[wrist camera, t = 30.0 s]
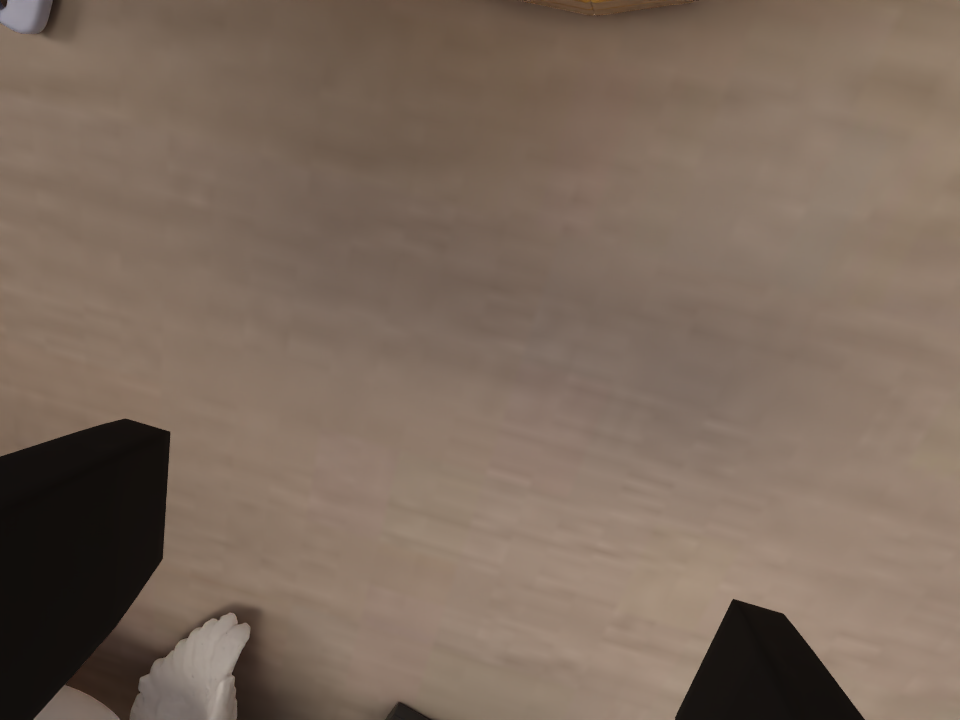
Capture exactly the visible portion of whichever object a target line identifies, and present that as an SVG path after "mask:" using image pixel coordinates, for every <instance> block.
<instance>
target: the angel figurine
mask: <svg viewBox="0 0 960 720" xmlns="http://www.w3.org/2000/svg"><path fill="white" fill-rule="evenodd" d="M237 623H238V621H237V617H236V615H235V614H234V613H230V612H229V613H228V614H227V615H223V616H222V617H220V620H218V621H217V619H213V618H212V619H210V620H209V621H207V622H206V623H204V625H203V627H202V628H201V627H198V628H195V629H194V630H193V631H192V632H191V633H190V635H189V637H188V638H185V639H182V640H180V641H179V642H178V643H177V645H176V647H175V649H174V651H173V650H172V651H171V652H170V653H169V654H168V655H167V656H166V657H165V658H159V659H157V660H156V661H154V663H153V665H152V667H151V670H150V673H149V674H147V675H145V676H142V677H141V678H140V682H139V685H138V689H139V691H140V692H141V693H139V694H138V695H137V696H136V699H135V701H134V703H133V706H132V708H131V712H130V717H129V718H130V720H237V700H236V699H235V696H236V688H235V687H234V683H235V676H233V675H232V672H233V670H234V667H235V664H236V663H237V660H238V657H239V655H240V653H241V651H242V649H243V648H244V647H245V644H246V642H247V641H248V640H249V637H250V636H249V635H250V630H251V627H250V626H249V625H248V624H247V623H243V624H239V625H237ZM33 720H120V719H119V717H118V716H117V715H116V714H115V713H114V712H113V711H112V710H110V709H109V708H108V707H107V706H105V705H104V704H103V703H101V702H100V701H98V700H96V699H95V698H93V697H92V696H90V695H87V694H86V693H84V692H81V691H79V690H77V689H75V688H72V687H69V686H67V685H64V686H63V687H62V688H61V689H60V690H59V692H58V693H57V694H56V695H55V696H54V697H53V698H52V699H51V700H50V702H49V703H48V704H47V705H46V706H45V707H44V708H43V709H42V710H41V712H40V713H39V714H38V715H37V716H36V717H35V718H34V719H33Z"/></svg>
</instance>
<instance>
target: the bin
mask: <svg viewBox="0 0 960 720" xmlns="http://www.w3.org/2000/svg"><path fill="white" fill-rule="evenodd" d="M386 720H429V719H427V718H425V717H424V716H422V715H420V714H418V713H416V712H415V711H413V710H411V709H409V708H407V707H406V706H404V705H402V704H400V703H398V704H397V705H396V706H395V707H394V709H393V710H392V711H391V713H390V714H389V715H388V717H387V718H386Z"/></svg>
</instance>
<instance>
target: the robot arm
mask: <svg viewBox="0 0 960 720" xmlns="http://www.w3.org/2000/svg"><path fill="white" fill-rule="evenodd" d="M52 2H53V0H7V5H6V7H4V6H3V5H2V3H1V1H0V23H1V24H3V25H5V26H6V27H8V28H10V29H11V30H13V31H16V32H18V33H21V34H37V33H39V32H41V31H42V30H44V28H45V26H46V24H47V22H48V18H49V14H50V10H51V6H52ZM169 447H170V432H169V431H166V430H162V429H159V428H156V427H152V426H149V425H146V424H142V423H139V422H136V421H132V420H129V419H122V420H118V421H114V422H110V423H106V424H102V425H99V426H95V427H92V428H89V429H85V430H82V431H79V432H76V433H72V434H69V435H66V436H63V437H60V438H57V439H54V440H51V441H47V442H44V443H41V444H38V445H35V446H32V447H29V448H26V449H23V450H20V451H17V452H14V453H10V454H7V455H4V456H1V457H0V720H33V719H34V718H35V717H36V716H37V715H38V714H39V713H40V712H41V710H42V709H43V708H44V707H45V706H46V705H47V704H48V703H49V702H50V700H51V699H52V698H53V697H54V696H55V695H56V694H57V693H58V692H59V690H60V689H61V688H62V687H63V686H64V685H65V684H66V683H67V682H68V680H69V679H70V678H71V677H72V676H73V675H74V674H75V673H76V671H77V670H78V669H79V668H80V667H81V666H82V665H83V663H84V662H85V661H86V660H87V659H88V658H89V657H90V656H91V654H92V653H93V652H94V651H95V650H96V649H97V648H98V647H99V645H100V644H101V643H102V642H103V641H104V640H105V638H106V637H107V636H108V635H109V634H110V633H111V632H112V630H113V629H114V628H115V627H116V625H117V624H118V623H119V621H120V620H121V618H122V617H123V616H124V614H125V613H126V611H127V610H128V609H129V607H130V606H131V605H132V603H133V602H134V600H135V599H136V598H137V596H138V595H139V593H140V592H141V590H142V589H143V587H144V586H145V584H146V583H147V581H148V580H149V578H150V577H151V575H152V574H153V572H154V571H155V569H156V568H157V566H158V565H159V564H160V562H161V561H162V559H163V544H164V528H165V512H166V496H167V479H168V463H169ZM675 720H865V719H864V718H863V717H862V715H861V714H860V713H859V711H858V710H857V709H856V707H855V706H854V705H853V703H852V702H851V701H850V699H849V698H848V697H847V695H846V694H845V693H844V691H843V690H842V689H841V687H840V686H839V685H838V683H837V682H836V681H835V679H834V678H833V677H832V675H831V674H830V673H829V671H828V670H827V669H826V667H825V666H824V665H823V663H822V662H821V661H820V660H819V658H818V657H817V656H816V654H815V653H814V652H813V650H812V649H811V648H810V646H809V645H808V644H807V642H806V641H805V640H804V639H803V637H802V636H801V635H800V633H799V632H798V631H797V630H796V628H795V627H794V626H793V625H792V624H791V622H790V621H789V620H788V619H787V618H786V616H785V615H784V614H782V613H779V612H775V611H772V610H769V609H765V608H762V607H759V606H755V605H752V604H748V603H745V602H742V601H738V600H735V599H733V600H732V602H731V604H730V606H729V608H728V610H727V612H726V614H725V616H724V618H723V620H722V622H721V624H720V627H719V629H718V631H717V633H716V635H715V637H714V639H713V641H712V643H711V645H710V647H709V649H708V651H707V653H706V655H705V657H704V659H703V661H702V663H701V666H700V668H699V670H698V672H697V674H696V676H695V678H694V680H693V682H692V684H691V686H690V688H689V690H688V692H687V694H686V696H685V698H684V700H683V702H682V704H681V707H680V709H679V711H678V713H677V715H676V717H675Z"/></svg>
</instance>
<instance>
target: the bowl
mask: <svg viewBox="0 0 960 720" xmlns="http://www.w3.org/2000/svg"><path fill="white" fill-rule="evenodd" d="M518 1H522V2H527V3H532V4H537V5H542V6H547V7H551V8H556V9H561V10H566V11H571V12H575V13H580V14H585V15H590V16H593V15H594V14H595V15H596V16H600V15H607V14H614V13H621V12H628V11H635V10H643V9H650V8H657V7H664V6H671V5H678V4H685V3H692V2H694V1H695V0H518ZM696 1H697V0H696Z"/></svg>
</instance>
